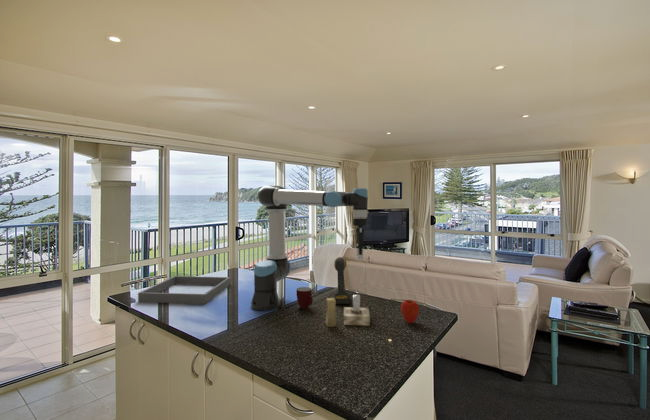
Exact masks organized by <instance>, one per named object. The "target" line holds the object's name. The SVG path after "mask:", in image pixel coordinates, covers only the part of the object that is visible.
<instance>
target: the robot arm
mask: <svg viewBox="0 0 650 420" xmlns="http://www.w3.org/2000/svg"><path fill="white" fill-rule="evenodd" d="M257 199H258V202H259V203H260V204H261V205H262V206H264V207H265V210H266V211H267V213H268V229H269V230H268V233H269V234H268V235H269V238H268V239H269V242H268V243H269V254H268V256H267V257H266V260H261V261H258V262H256V264H255V265H254V270H253V273H254V274H253V277H254V278H253V279H254V281H253V282H254V283H253V285H254V292H253V295H252V299H251V302H250V307H251V308H252V309H253V310H255V311H256V310H257V311H271V310H275V309H277V308H279V307H280V305H281V304H280V302H281V301H280V298H279V294H278V292H277V283H278V282H280V281H282V280H284V279H285V278H287V277H288V276H289V274H290V273H291V269H292V267H291V262H289V259H288V255H287V254H286V253H285V252H286V251H285V249H286V247H285V212H286V211H287V209H288V208H287V205H295V206H314V207H315V206H316V207H317V206H318V207H330V208H337V207H352V217H353V218H352V226H355V227H356V228H355V232H356V257H357V262H363V261H364V238H365V237H364V236H365V235H364V234H365V229H364V228H363V226H364V227H367V226H368V214H369V212H370V211H368V207H369V206H368V204H369V203H368V201H369V195H368V189H367V188H366V187H365V188H363V187H354V188H353V190H352V191H336V190H335V191H334V190H332V191H330V190H329V191H328V190H326V191H325V190H308V189H307V190H304V189H303V190H302V189H287V188H286V187H284V186H281V185H264V186H262V187H261V188H259V190H258V192H257Z"/></svg>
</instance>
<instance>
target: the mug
mask: <svg viewBox="0 0 650 420" xmlns="http://www.w3.org/2000/svg"><path fill="white" fill-rule="evenodd" d="M312 290H313V289H312V288H311V287H308V286H300V287H297V288H296V299H297V304H298V307H299V308H300V309H301V310H307V309H308V308H309V307H310V306H311V305H312V304H313V303H314V301H313V300H314V299H313V297H312V295H313V291H312Z"/></svg>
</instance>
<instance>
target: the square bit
mask: <svg viewBox="0 0 650 420" xmlns="http://www.w3.org/2000/svg"><path fill="white" fill-rule="evenodd" d="M336 305H337V304H336V300H335V299H334V297H327V298H326V299H325V325H326V327H327V328H333V327H334V328H335V327H336Z"/></svg>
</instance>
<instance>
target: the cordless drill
mask: <svg viewBox="0 0 650 420" xmlns="http://www.w3.org/2000/svg"><path fill="white" fill-rule="evenodd" d="M333 265H334V268H335V271H336V272H337V290H335V292H334V297H333V298H334V299H335V300H336V304H335V305H350V303H351V301H350V300H351V297H350V296H351V294H350V292H349V290H348V289H346V286H345V273H344V272H345V269H346V267H347V260H346V258H344V257H343V256H342V257H341V256H338V257H336V258H335V259H334V264H333Z"/></svg>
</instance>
